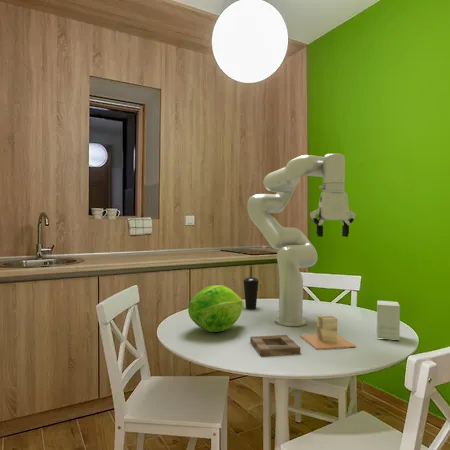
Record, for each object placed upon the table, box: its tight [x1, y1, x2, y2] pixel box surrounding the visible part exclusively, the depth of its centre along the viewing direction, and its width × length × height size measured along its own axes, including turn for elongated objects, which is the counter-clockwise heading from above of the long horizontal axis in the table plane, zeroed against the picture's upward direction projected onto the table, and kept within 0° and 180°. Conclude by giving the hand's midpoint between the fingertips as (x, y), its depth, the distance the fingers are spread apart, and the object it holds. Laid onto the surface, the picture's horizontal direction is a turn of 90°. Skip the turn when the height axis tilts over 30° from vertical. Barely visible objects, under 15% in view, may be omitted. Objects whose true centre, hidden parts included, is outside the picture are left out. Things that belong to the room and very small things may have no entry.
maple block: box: [316, 314, 338, 343], centre depth 134 cm, size 5×5×8 cm
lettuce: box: [187, 284, 246, 333], centre depth 146 cm, size 19×25×17 cm
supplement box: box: [376, 300, 401, 341], centre depth 139 cm, size 7×7×13 cm
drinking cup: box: [242, 265, 260, 310], centre depth 181 cm, size 8×8×20 cm
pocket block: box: [249, 334, 301, 357], centre depth 127 cm, size 13×13×2 cm
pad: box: [299, 333, 357, 351], centre depth 134 cm, size 14×14×1 cm
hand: (332, 236), depth 139 cm, fingers open, 9 cm apart
